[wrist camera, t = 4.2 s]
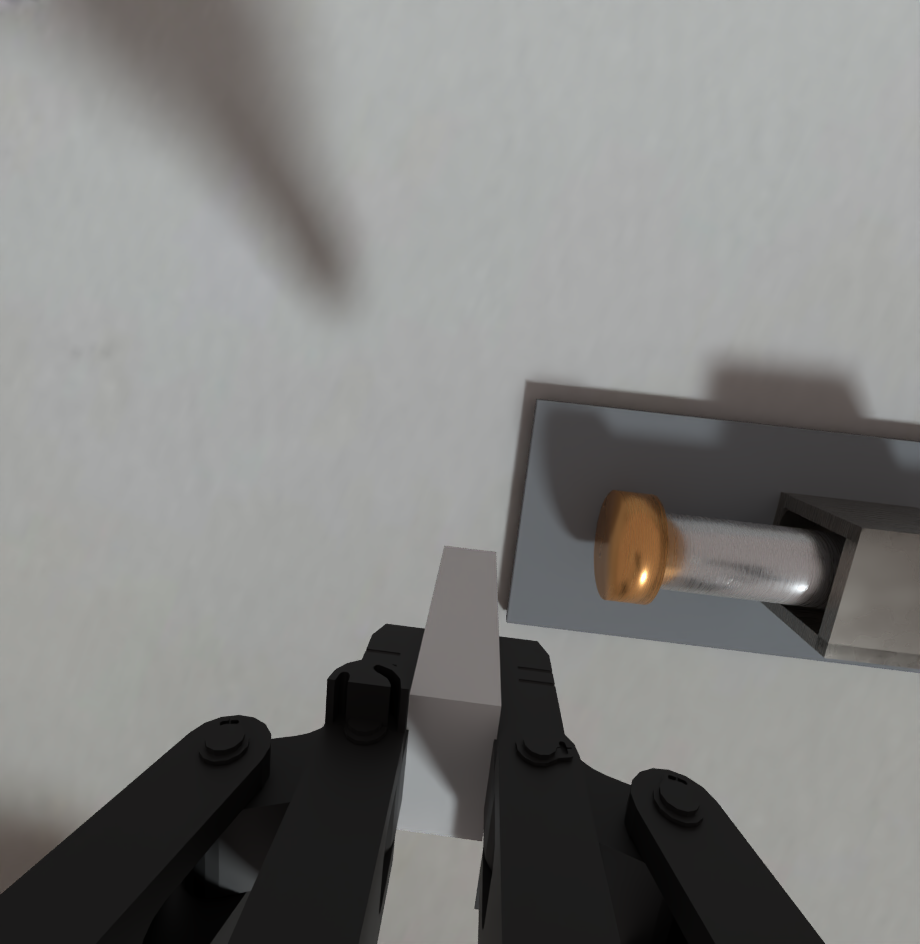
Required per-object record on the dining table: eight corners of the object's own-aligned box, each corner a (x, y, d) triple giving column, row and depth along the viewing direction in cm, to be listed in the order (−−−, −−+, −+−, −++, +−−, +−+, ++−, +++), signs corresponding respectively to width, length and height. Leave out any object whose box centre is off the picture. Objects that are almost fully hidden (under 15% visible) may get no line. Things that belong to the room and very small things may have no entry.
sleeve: (754, 596, 24) (824, 657, 19) (781, 492, 23) (862, 528, 18) (882, 611, 24) (985, 677, 19) (915, 507, 23) (1034, 547, 18)
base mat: (506, 616, 26) (506, 622, 25) (536, 399, 23) (537, 399, 23) (1051, 683, 25) (1064, 690, 24) (1139, 465, 23) (1157, 468, 22)
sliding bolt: (588, 572, 24) (612, 620, 20) (604, 479, 23) (633, 507, 19) (939, 614, 24) (1044, 673, 19) (971, 521, 23) (1090, 560, 18)
